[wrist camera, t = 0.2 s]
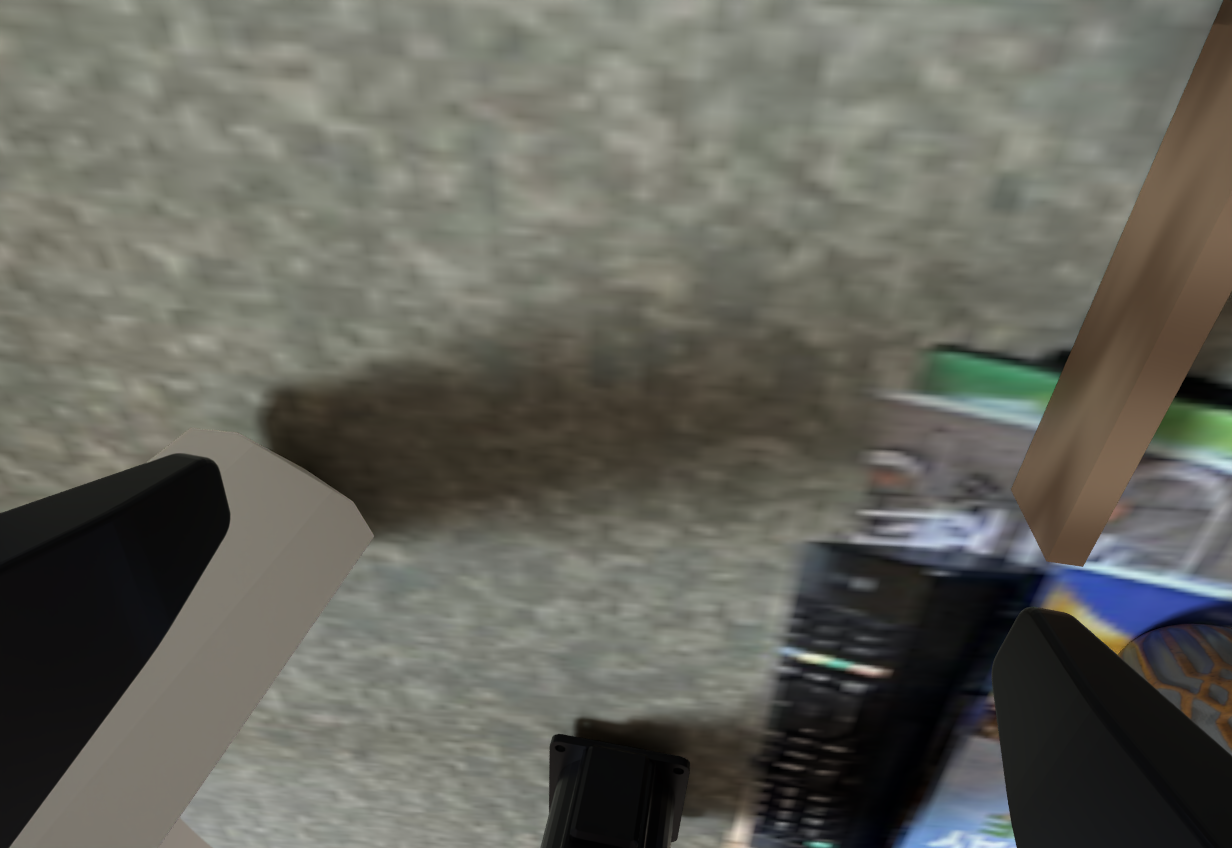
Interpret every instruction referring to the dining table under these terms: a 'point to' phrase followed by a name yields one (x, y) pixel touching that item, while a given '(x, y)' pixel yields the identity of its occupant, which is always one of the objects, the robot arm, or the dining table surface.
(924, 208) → the dining table surface
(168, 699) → the crystal
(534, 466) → the dining table surface
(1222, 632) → the vase
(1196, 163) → the frame
